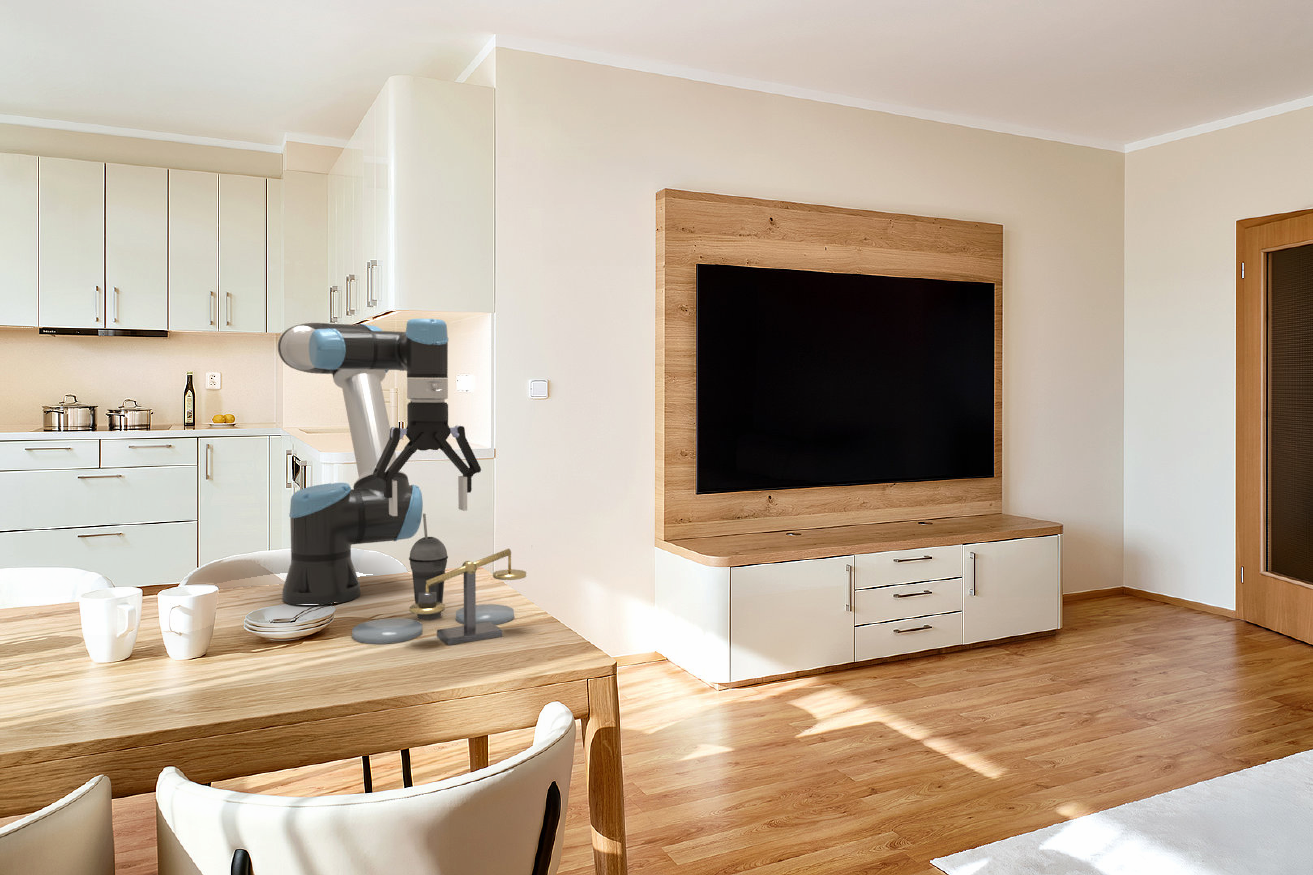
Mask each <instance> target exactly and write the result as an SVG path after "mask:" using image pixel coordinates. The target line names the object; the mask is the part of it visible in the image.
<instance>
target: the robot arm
mask: <svg viewBox="0 0 1313 875" xmlns="http://www.w3.org/2000/svg"><path fill="white" fill-rule="evenodd" d="M277 342H278V343H277V352H278V356H279V357H280V359H281V361H282V362H283V363H284V364H285V365H286V366H288V367H290V368H291V369H294V370H296V371H300V372H304V373H307V374H321V375H324V374H325V375H329V374H330V375H332V380H333V383H334V384H335V386H337V387H338V388H340V389H342V395H343V399H344V404H345V411H346V416H347V421H348V425H349V426H348V428H349V432H350V436H351V441H352V448H353V454H354V458H355V463H356V469H357V474H358V478H357V480H356V481H355V482H354V483H353V486H352V487H353V489H352V488H351V485H350V484H349V483H347V482H334V483H331V482H330V483H323V484H316V485H312V486H308V487H303V488H302V489H299V490H297V491H295V492H294V493H293V494H292V496H291V497H290V507H289V508H290V509H289V514H288V515H289V517H290V518H289V520H290V552H291V553H290V557H291V558H290V565H289V568H288V572H287V575H286V577H285V580H284V584H283V587H282V602H284V603H285V604H289V605H292V604H330V605H332V604H331V603H334V602H339V603H338V604H341V603H346V602H349V601H353V600H355V599H357V598H358V597H360V595H361V583H360V580H359V578H358V574H357V573H356V569H355V566H354V564H353V561H352V552H351V550H352V545H361V544H371V543H372V544H373V543H381V542H383V543H384V542H397V541H399V540H406V539H408V540H409V539H411V538H413V537H414V536H415V535H416V534H417V532H418V531H419V529H420V526H421V522H422V518H423V510H424V509H423V508H424V506H423V495H422V490H421V488H420V487H419V486H418V485H415V484H410V483H409V482H410V481H409V478H408V475H407V474H406V473H405V472H404V471H401V469H402V468H403V467H404V465H406V463H407V462H408V460H410V458H411V457H412V456H413V455H414V454H415V453H416V452H417V451H421V452H424V451H428V450H431V451H439V450H440V451H442V452H443V453H444V454H445V456H446V457H447V458H448V459H449V460H450V462H452V464H453V465H454V466H455V467H456V468H457V469H458V471H459V472H460V473H461V474H462V475H458V479H457V480H458V482H457V483H458V484H457V485H458V486H457V487H458V488H457V489H458V510H459V511H464V512H465V511H468V494H469V493H471V492H472V489H473V488H472V477H474V475H475V474H479V473H481V471H482V468H481V466H480V463H479V461H478V459H477V458H476V456H475V453H474V451H473V449H472V448H471V446H470V444H469V442H468V439H467V437H466V430H465V426H463V425H454V426H453V427H451V426H449V403H447V402H446V400H447V399H449V398H448V397H449V384H448V383H449V380H448V379H449V377H448V376H449V374H448V373H449V372H448V371H449V370H448V369H449V368H448V367H449V366H448V365H449V363H448V362H449V361H448V360H449V358H448V354H449V349H448V346H449V344H448V343H449V337H448V324H447V322H446V321H445V320H443V319H438V318H437V319H436V318H411V319H408V321H406V329H405V331H395V330H393V331H387V330H383V329H381V328H380V327H378V326H376V325H370V324H369V325H368V324H365V323H359V324H350V323H349V324H348V323H347V324H345V323H344V324H343V323H341V324H340V323H327V322H326V323H325V322H324V323H323V322H306V323H302V324H301V323H300V324H297V325H294V326H290V327H289V328H287V329H286V330H285V331H284V332H283V333H282V334H280V337H279V339H278V341H277ZM389 371H400V372H401V371H403V372H404V371H405V372H406V382H407V383H406V398H407V400H410V402H408V403H407V404H406V406H407V408H406V409H407V410H406V411H407V417H406V419H407V421H406V422H407V423H406V424H407V426H406V428H400V427H396V426H391V425H390V421H389V420H390V419H389V416H388V411H387V406H386V401H385V397H384V392H383V385H382V382H383V381H384V379H385V378H386V375H387V373H388V372H389ZM450 434H451V435H452V437H453V438H455V442H456V443H457V444H458V445H457V446H459V449H460V451H461V452H462V455H463V457H464V459H465V460H466V463H467V464H468V465H467V464H466V463H465V461H463V459H462V458H461V457H460V456H459V454H458V453H457V452H456V451H455V450H454V448H453V447H452V446H451V444H450V443H449V442H448V441H447V439H448V438H449V437H450ZM404 436H406V437H407V439H408V442H407V444H405V446H404V448H403V450H401V453H399V454H398V456H397V455H396V450H397V448H398V446H399V443H400V440H402V439H403V437H404Z"/></svg>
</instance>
